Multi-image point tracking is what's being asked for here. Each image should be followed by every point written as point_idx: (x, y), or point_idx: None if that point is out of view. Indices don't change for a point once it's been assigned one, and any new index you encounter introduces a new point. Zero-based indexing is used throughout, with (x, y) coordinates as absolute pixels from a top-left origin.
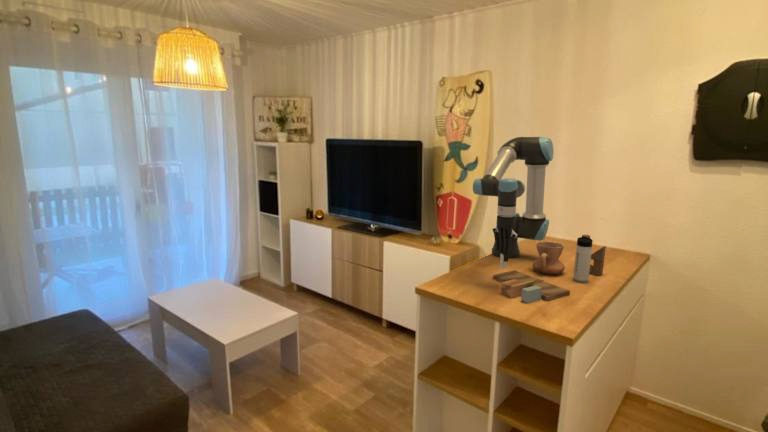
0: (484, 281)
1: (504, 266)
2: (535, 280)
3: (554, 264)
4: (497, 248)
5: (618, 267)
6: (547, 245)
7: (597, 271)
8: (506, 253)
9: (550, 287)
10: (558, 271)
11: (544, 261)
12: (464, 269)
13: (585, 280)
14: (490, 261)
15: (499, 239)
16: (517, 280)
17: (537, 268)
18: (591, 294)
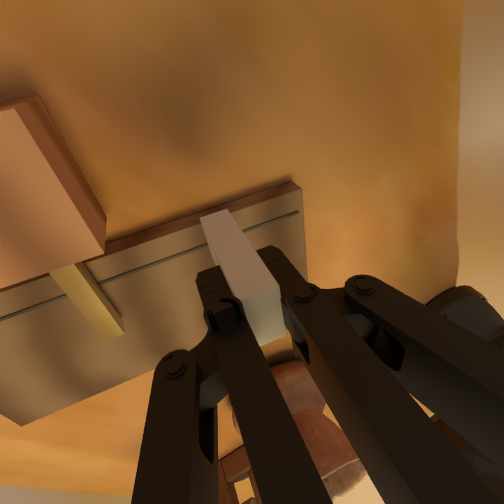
0: (273, 108)
1: (209, 246)
2: (175, 341)
3: None
4: (365, 300)
5: (243, 490)
6: (345, 465)
7: None
8: (210, 347)
9: (71, 374)
10: (232, 417)
11: None
12: (450, 98)
13: None
14: (432, 257)
15: (485, 436)
16: (71, 258)
17: (278, 373)
18: (38, 456)
